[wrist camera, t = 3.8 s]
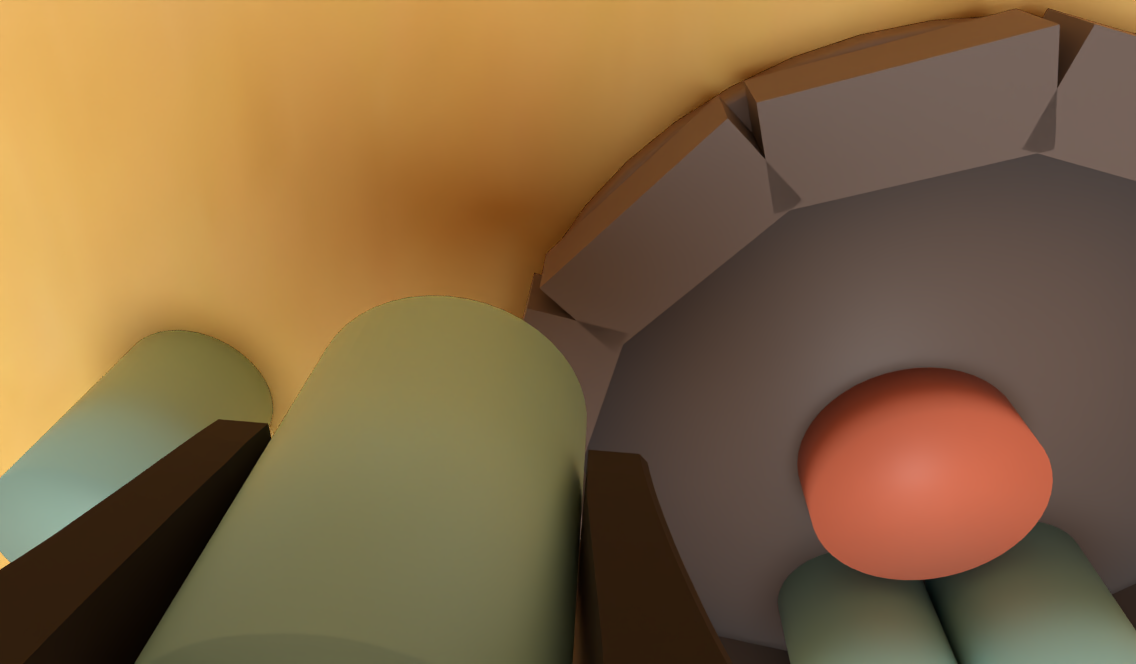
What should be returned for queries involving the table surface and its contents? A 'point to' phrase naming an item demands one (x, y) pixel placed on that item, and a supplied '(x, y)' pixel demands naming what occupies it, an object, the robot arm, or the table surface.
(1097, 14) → the table surface
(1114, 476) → the ring tray
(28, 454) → the bead
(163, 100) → the table surface
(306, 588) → the grey green cylinder
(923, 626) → the pale green cylinder
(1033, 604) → the bead
